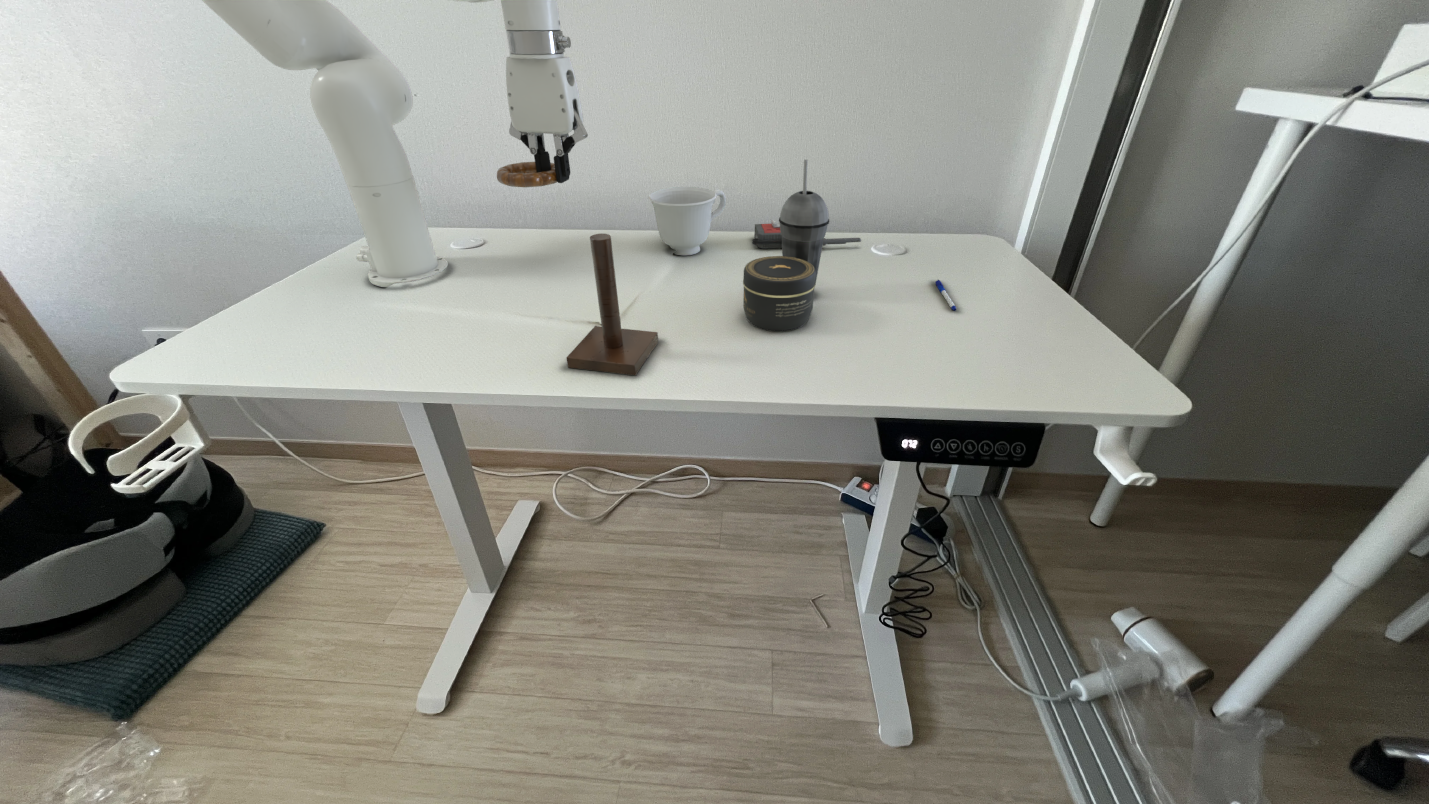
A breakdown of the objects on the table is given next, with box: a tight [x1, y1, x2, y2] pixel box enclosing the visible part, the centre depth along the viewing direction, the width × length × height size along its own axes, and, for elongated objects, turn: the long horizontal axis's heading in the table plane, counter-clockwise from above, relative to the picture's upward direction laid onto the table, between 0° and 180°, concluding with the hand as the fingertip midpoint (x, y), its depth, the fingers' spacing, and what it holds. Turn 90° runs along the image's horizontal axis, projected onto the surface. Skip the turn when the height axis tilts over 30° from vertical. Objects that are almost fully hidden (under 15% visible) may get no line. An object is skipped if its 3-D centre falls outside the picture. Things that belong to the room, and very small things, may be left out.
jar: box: [742, 255, 817, 332], centre depth 82 cm, size 10×10×8 cm
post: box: [566, 233, 659, 376], centre depth 72 cm, size 9×9×16 cm
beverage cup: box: [778, 159, 830, 286], centre depth 86 cm, size 7×7×20 cm
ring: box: [496, 161, 558, 188], centre depth 94 cm, size 10×10×2 cm
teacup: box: [648, 186, 727, 256], centre depth 107 cm, size 12×15×10 cm
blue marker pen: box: [935, 279, 957, 312], centre depth 90 cm, size 10×1×1 cm, turn 178°
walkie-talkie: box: [751, 219, 862, 250], centre depth 110 cm, size 9×4×20 cm
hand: (554, 179), depth 93 cm, fingers closed on ring, 2 cm apart
